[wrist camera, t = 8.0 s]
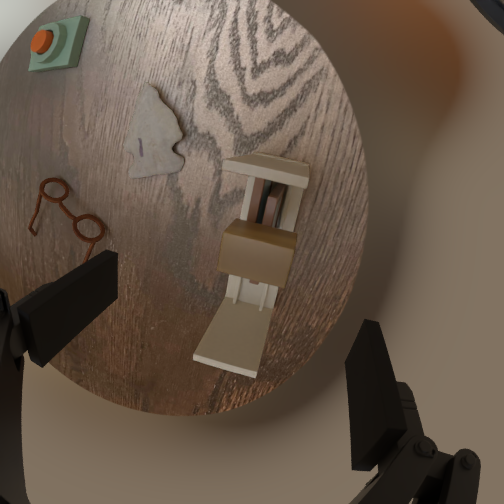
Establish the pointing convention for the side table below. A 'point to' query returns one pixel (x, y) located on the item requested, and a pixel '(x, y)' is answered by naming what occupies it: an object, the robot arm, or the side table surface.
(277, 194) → the pane
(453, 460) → the robot arm
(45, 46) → the button
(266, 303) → the window frame
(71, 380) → the side table surface
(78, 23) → the button box
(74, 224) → the glasses
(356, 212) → the side table surface
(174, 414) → the side table surface
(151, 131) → the decorative stone
